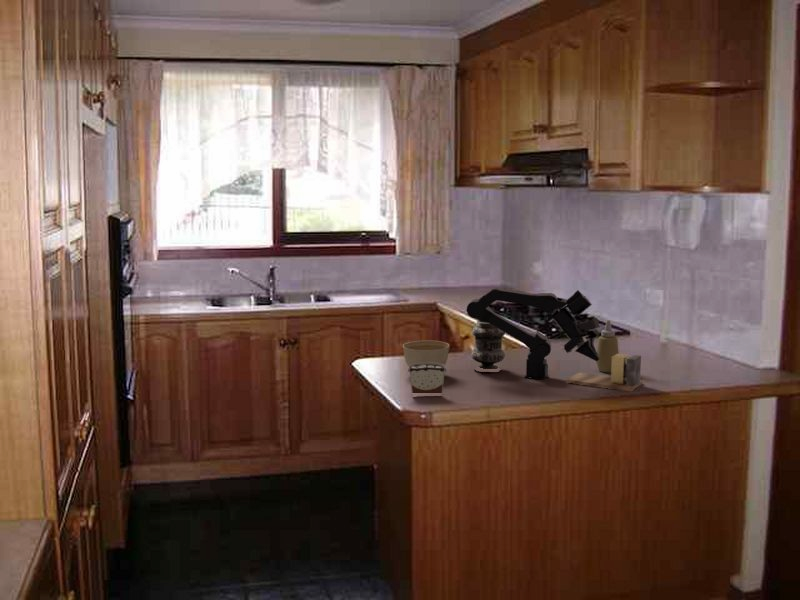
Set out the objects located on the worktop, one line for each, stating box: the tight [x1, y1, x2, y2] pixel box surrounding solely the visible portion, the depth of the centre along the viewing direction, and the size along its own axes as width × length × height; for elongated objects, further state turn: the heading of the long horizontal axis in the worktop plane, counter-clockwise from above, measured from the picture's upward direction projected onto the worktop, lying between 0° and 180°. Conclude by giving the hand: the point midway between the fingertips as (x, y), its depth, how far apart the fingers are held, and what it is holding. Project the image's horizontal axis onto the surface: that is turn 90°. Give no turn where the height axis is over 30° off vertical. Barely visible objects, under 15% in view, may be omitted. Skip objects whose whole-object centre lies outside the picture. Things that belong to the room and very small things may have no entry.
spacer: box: [610, 353, 630, 384], centre depth 284 cm, size 4×6×9 cm, turn 148°
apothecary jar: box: [470, 319, 506, 369], centre depth 307 cm, size 12×12×18 cm
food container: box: [407, 362, 448, 394], centre depth 275 cm, size 12×6×10 cm, turn 92°
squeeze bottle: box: [595, 320, 620, 373], centre depth 304 cm, size 8×8×18 cm
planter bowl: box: [402, 340, 450, 368], centre depth 300 cm, size 16×16×11 cm
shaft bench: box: [565, 354, 643, 392], centre depth 287 cm, size 22×12×10 cm, turn 58°
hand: (598, 360), depth 288 cm, fingers closed
